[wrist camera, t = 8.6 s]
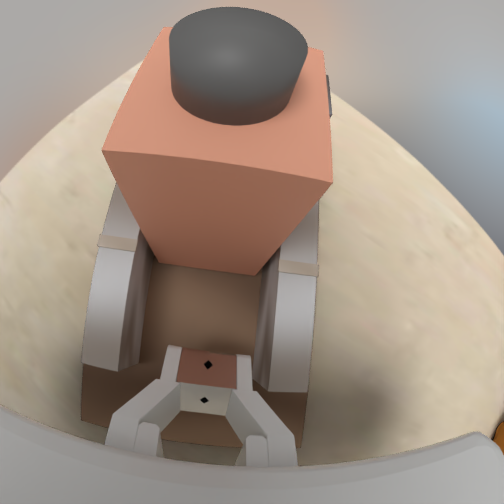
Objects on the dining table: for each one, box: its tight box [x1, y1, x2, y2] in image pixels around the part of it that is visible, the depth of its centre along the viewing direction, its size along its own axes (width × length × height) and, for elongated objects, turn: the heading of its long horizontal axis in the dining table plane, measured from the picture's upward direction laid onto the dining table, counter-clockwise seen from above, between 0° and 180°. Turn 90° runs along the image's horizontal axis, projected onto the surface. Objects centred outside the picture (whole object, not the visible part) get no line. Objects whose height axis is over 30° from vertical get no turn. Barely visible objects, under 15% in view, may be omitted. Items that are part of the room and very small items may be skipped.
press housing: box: [81, 75, 332, 448], centre depth 13 cm, size 19×12×7 cm, turn 174°
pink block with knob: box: [102, 7, 333, 276], centre depth 11 cm, size 5×5×12 cm
